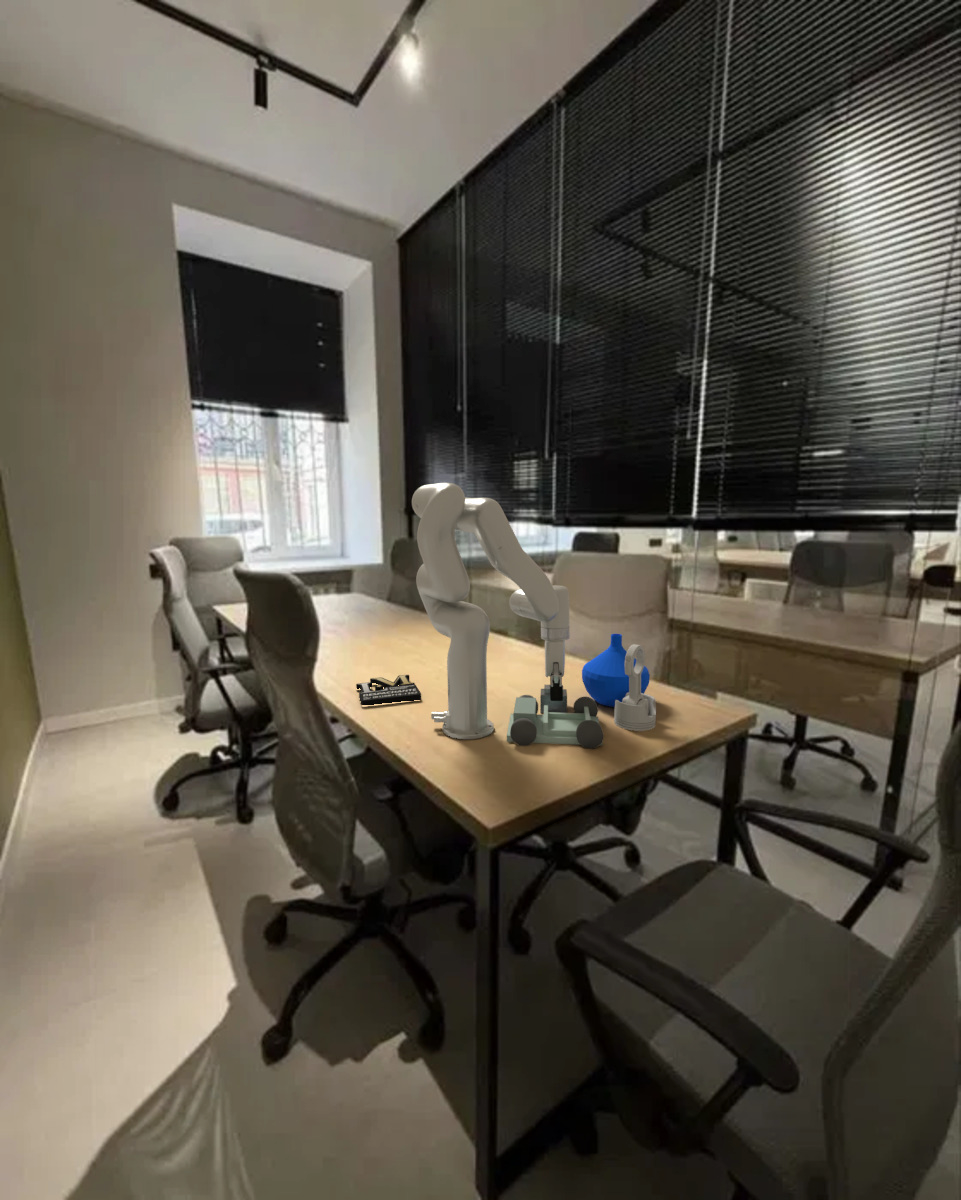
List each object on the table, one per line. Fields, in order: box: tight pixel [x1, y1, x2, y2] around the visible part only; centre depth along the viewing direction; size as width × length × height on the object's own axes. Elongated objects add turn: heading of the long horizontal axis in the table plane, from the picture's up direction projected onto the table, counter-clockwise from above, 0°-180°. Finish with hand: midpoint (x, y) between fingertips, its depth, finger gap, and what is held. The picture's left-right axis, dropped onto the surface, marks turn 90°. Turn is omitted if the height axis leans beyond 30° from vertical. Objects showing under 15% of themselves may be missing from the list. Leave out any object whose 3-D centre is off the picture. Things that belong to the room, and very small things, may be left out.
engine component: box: [613, 643, 657, 732], centre depth 137 cm, size 11×20×10 cm
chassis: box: [506, 694, 605, 749], centre depth 134 cm, size 22×18×6 cm
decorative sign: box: [355, 674, 422, 706], centre depth 164 cm, size 17×2×20 cm
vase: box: [581, 633, 650, 708], centre depth 153 cm, size 18×18×19 cm
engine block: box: [539, 684, 568, 714], centre depth 148 cm, size 7×6×6 cm
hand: (556, 694), depth 149 cm, fingers open, 9 cm apart
